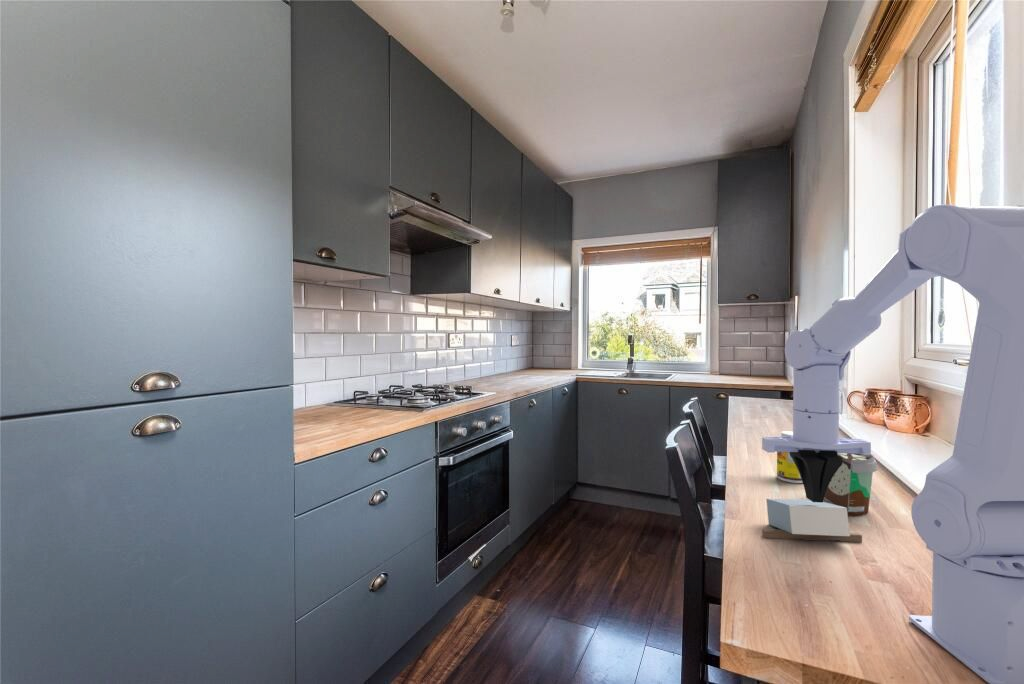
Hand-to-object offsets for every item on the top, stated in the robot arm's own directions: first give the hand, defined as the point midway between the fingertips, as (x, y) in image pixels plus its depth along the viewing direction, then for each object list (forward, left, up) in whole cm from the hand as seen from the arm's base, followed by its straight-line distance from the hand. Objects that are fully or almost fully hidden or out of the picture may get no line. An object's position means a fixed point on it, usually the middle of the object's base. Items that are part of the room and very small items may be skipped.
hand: (814, 500), depth 67 cm
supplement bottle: (+30, -12, -6) cm, 33 cm away
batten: (+1, 0, -6) cm, 6 cm away
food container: (+15, -15, -6) cm, 22 cm away
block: (-1, 0, -3) cm, 3 cm away
